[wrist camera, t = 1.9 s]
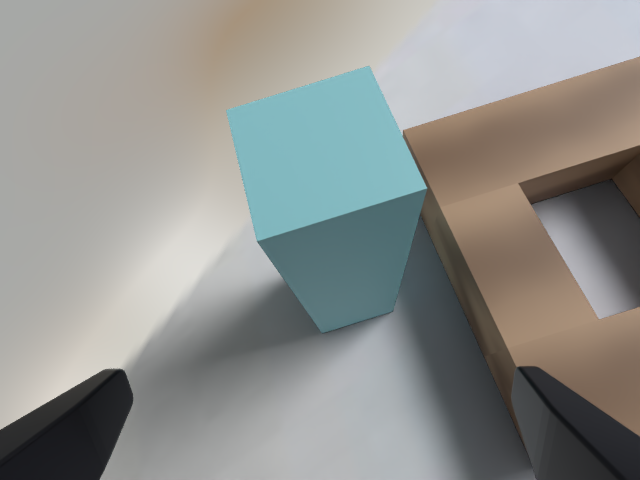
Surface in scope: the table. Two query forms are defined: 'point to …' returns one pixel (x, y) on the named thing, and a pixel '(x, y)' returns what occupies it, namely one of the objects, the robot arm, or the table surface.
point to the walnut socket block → (535, 229)
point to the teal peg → (331, 194)
